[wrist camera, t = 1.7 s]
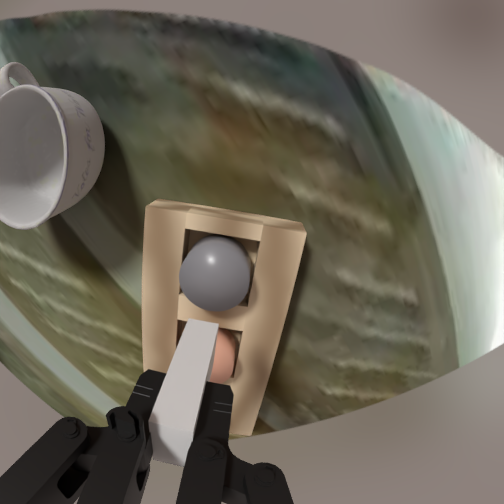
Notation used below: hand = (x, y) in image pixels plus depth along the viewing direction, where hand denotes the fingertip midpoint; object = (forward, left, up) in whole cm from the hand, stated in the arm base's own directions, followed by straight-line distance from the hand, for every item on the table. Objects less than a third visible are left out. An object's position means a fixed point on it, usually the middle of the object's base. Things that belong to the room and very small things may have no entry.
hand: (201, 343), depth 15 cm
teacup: (-16, +9, -12) cm, 22 cm away
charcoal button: (0, 0, -10) cm, 10 cm away
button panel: (0, -8, -12) cm, 15 cm away
